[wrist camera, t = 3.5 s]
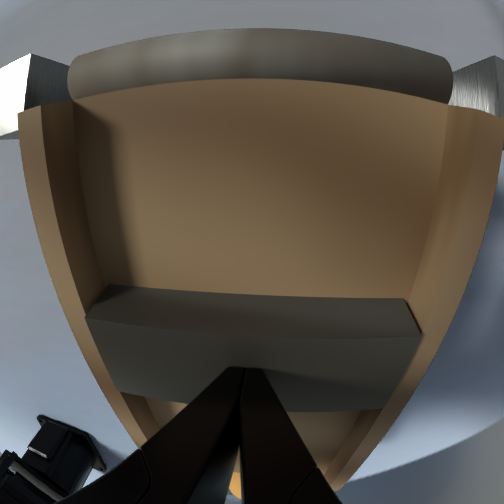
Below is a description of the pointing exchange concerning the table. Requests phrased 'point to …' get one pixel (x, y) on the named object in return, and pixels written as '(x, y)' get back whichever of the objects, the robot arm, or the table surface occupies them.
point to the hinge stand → (56, 90)
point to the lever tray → (262, 222)
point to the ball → (235, 485)
